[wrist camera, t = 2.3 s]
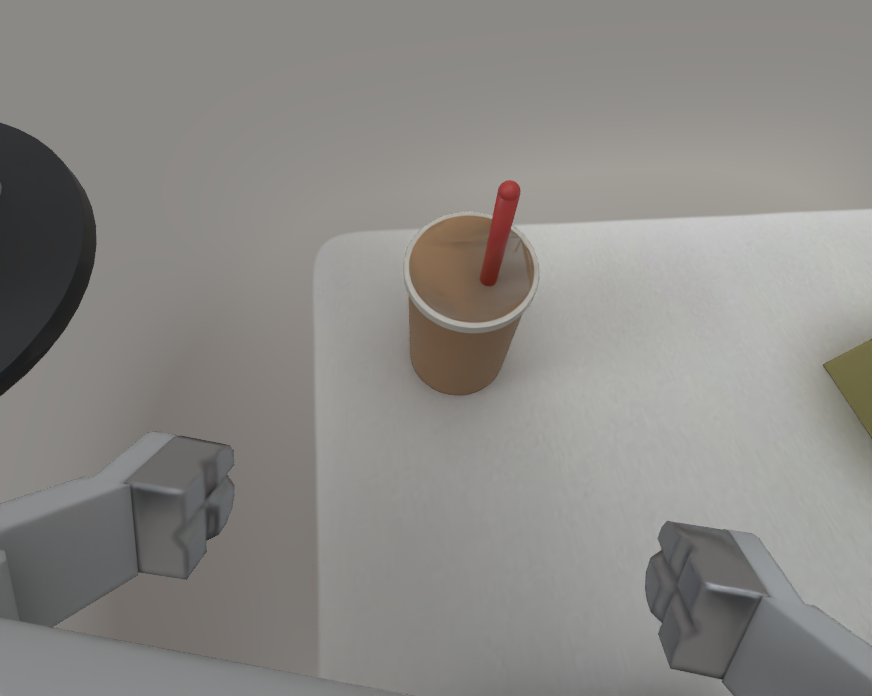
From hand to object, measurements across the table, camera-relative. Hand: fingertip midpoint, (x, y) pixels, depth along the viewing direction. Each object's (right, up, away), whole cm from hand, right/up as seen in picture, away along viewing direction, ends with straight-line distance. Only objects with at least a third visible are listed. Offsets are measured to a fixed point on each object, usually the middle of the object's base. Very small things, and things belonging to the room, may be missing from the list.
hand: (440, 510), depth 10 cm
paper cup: (+1, +3, +24) cm, 24 cm away
